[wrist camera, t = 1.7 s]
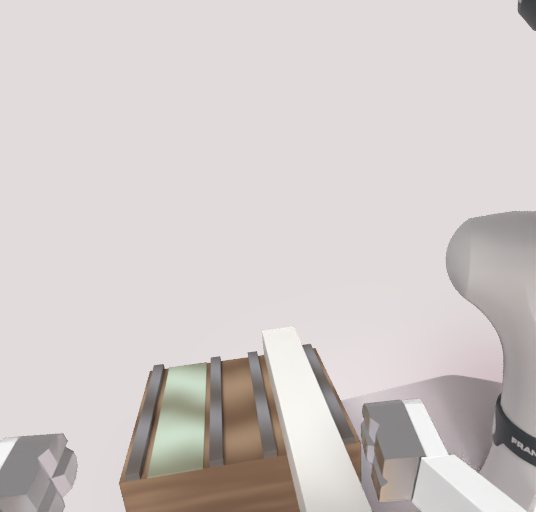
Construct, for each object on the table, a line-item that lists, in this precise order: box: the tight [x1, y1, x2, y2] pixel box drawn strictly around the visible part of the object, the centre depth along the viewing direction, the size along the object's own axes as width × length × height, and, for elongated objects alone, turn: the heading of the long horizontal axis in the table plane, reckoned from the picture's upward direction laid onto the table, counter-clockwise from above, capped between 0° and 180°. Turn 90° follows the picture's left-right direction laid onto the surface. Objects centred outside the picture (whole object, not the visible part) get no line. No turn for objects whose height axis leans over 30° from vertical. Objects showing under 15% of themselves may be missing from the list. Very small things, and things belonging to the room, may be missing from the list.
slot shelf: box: [119, 344, 361, 512], centre depth 39 cm, size 14×18×27 cm
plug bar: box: [262, 327, 372, 512], centre depth 31 cm, size 23×4×3 cm, turn 8°
